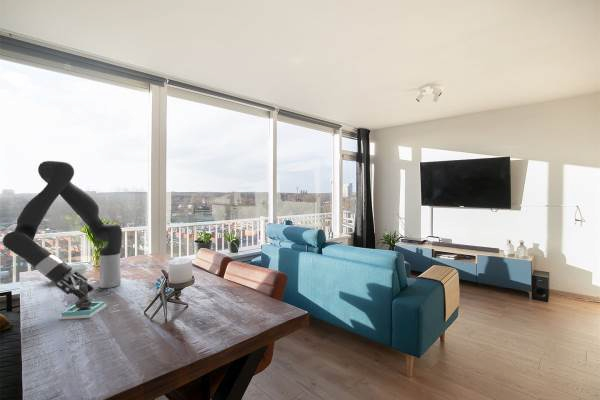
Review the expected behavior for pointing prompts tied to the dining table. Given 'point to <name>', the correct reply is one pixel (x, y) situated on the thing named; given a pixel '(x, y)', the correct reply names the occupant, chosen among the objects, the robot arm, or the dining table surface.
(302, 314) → the dining table surface
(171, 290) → the gear
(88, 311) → the socket board
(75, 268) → the cereal bowl
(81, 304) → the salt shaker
